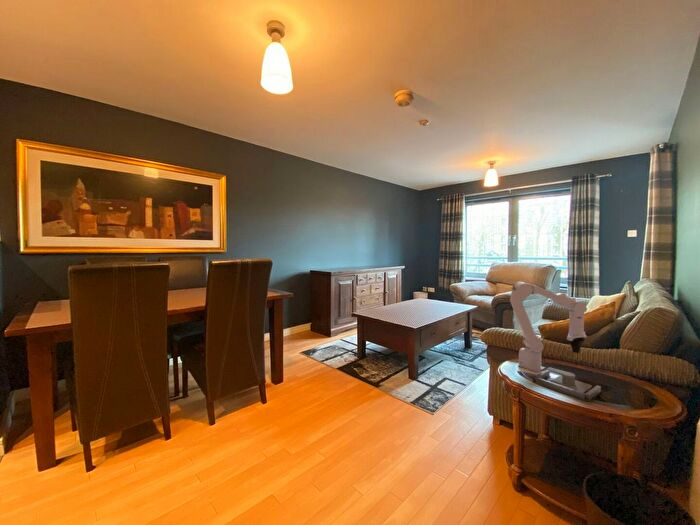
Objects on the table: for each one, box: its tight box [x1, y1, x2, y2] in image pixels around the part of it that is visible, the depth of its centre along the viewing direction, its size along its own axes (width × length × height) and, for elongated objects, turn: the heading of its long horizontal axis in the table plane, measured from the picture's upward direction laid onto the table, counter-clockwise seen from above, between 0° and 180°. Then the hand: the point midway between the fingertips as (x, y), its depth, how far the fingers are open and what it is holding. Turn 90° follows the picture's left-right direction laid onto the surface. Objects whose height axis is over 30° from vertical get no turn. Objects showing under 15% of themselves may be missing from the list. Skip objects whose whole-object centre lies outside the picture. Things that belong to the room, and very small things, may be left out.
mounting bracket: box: [532, 369, 602, 403], centre depth 127 cm, size 20×13×2 cm, turn 32°
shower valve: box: [546, 366, 593, 393], centre depth 130 cm, size 12×6×15 cm
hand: (576, 352), depth 142 cm, fingers closed
